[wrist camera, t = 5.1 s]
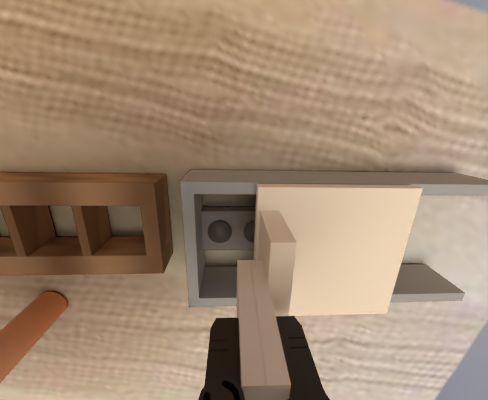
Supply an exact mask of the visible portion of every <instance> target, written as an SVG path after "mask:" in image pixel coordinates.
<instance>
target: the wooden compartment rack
mask: <svg viewBox="0 0 488 400" xmlns="http://www.w3.org/2000/svg"><path fill="white" fill-rule="evenodd" d="M48 206H71V207H72V211H73V215H74V219H75V224H76V228H77V232H78V236H79V237H56V234H55V230H54V227H53V223H52V219H51V216H50V212H49V208H48ZM106 206H140V209H141V216H142V224H143V231H144V237H112V235H111V230H110V224H109V219H108V214H107V208H106ZM0 207H1V210H2V213H3V216H4V219H5V222H6V224H7V227H8V230H9V233H10V236H11V237H0V276H2V275H73V274H144V273H164V271H165V269H166V267H167V264H168V262H169V260H170V258H171V256H172V253H173V248H172V236H171V225H170V214H169V203H168V192H167V181H166V174H111V173H22V172H0Z"/></svg>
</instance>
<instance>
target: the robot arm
mask: <svg viewBox="0 0 488 400" xmlns="http://www.w3.org/2000/svg"><path fill="white" fill-rule="evenodd" d="M236 299H237V318H216V320H215V322H214V323H213V325H212V327H211V331H210V341H209V350H208V359H207V369H206V378H205V386H204V388H203V389H202V391H201V393H200V396H199V400H330V399H329V398H328V396H327V395H326V393H325V391H324V389H323V387H322V384H321V381H320V378H319V375H318V372H317V370H316V367H315V364H314V361H313V358H312V355H311V352H310V349H309V346H308V343H307V340H306V339H305V334H304V332H303V329H302V326H301V324H300V323H299V322H298V321H297V319H296V318H295V317H294V316H275V311H274V307H273V302H272V298H271V293H270V289H269V285H268V280H267V276H266V272H265V268H264V263H263V260H237V298H236Z"/></svg>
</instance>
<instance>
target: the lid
mask: <svg viewBox="0 0 488 400" xmlns="http://www.w3.org/2000/svg"><path fill="white" fill-rule="evenodd" d="M422 190H423V188H420V187H417V186H414V185H339V184H257V188H256V211H255V235H254V258H253V260H263V263H264V268H265V272H266V276H267V280H268V285H269V289H270V293H271V298H272V302H273V307H274V311H275V316H305V315H344V314H383V313H387V311H388V307H389V304H390V300H391V297H392V293H393V290H394V286H395V283H396V279H397V276H398V273H399V269H400V266H401V262H402V259H403V255H404V252H405V248H406V245H407V242H408V238H409V235H410V231H411V228H412V224H413V221H414V217H415V214H416V210H417V207H418V204H419V200H420V197H421V193H422Z"/></svg>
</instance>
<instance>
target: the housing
mask: <svg viewBox="0 0 488 400" xmlns="http://www.w3.org/2000/svg"><path fill="white" fill-rule="evenodd" d="M257 184H339V185H414V186H417V187H420V188H423V190H422V193H421V195H436V196H488V180H486V179H481V178H477V177H472V176H468V175H463V174H459V173H430V172H350V171H270V170H190V171H189V172H188V173H187V175H186V176H185V177H184V178H183V179H182V180H181V182H180V185H181V199H182V214H183V228H184V242H185V257H186V271H187V286H188V300H189V307H209V306H237V299H236V298H237V267H205V262H204V250H254V235H255V211H256V207H202V194H256V188H257ZM464 294H465V293H464V292H463V291H461V290H460V289H459V288H457V287H456V286H455V285H453V284H452V283H451V282H449V281H448V280H446V279H445V278H444V277H442V276H441V275H440V274H438V273H437V272H435V271H434V270H433V269H431V268H430V267H429V266H427V265H426V264H404V265H401V266H400V269H399V273H398V276H397V279H396V283H395V286H394V290H393V293H392V297H391V300H390V302H429V301H462V299H463V296H464Z"/></svg>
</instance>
